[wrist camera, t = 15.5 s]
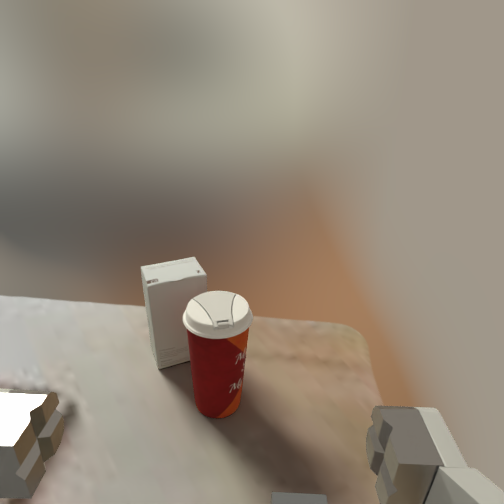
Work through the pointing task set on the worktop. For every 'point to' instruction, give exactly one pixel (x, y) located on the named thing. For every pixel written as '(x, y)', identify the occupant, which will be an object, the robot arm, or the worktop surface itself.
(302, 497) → the plug block
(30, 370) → the worktop surface
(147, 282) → the skincare box
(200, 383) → the coffee cup
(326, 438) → the worktop surface
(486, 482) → the robot arm
